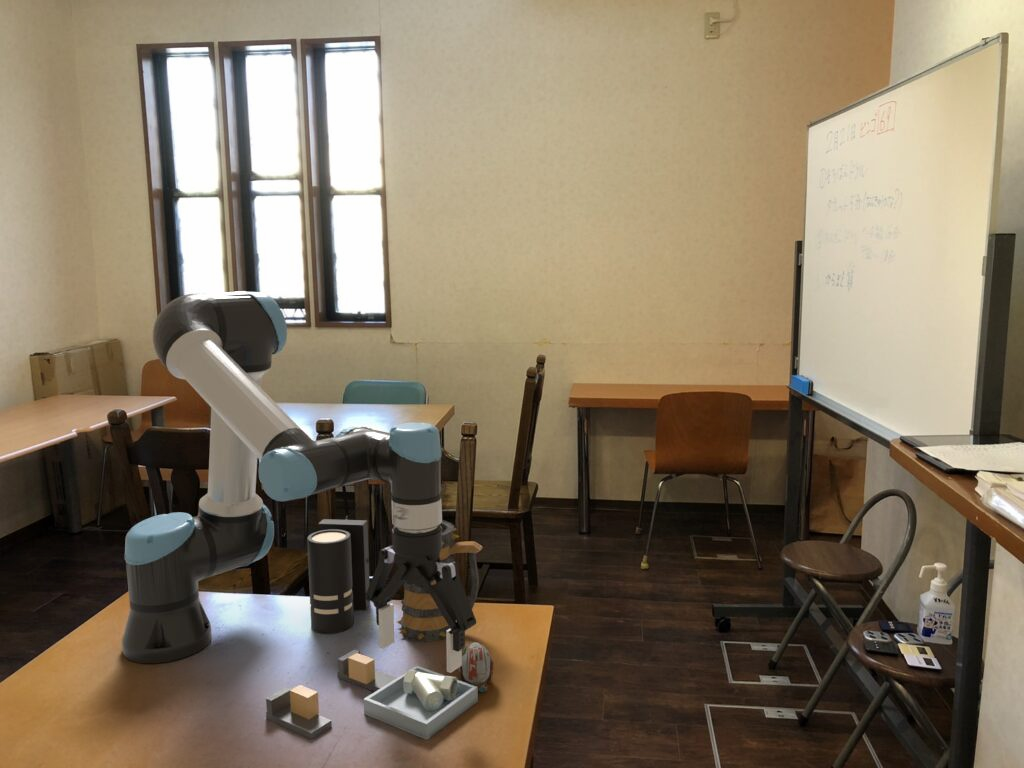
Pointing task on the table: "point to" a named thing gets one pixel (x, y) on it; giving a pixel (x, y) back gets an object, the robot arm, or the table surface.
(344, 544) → the light fixture
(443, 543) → the mug
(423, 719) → the parts tray
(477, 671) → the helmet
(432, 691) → the pipe fitting
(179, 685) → the table surface
